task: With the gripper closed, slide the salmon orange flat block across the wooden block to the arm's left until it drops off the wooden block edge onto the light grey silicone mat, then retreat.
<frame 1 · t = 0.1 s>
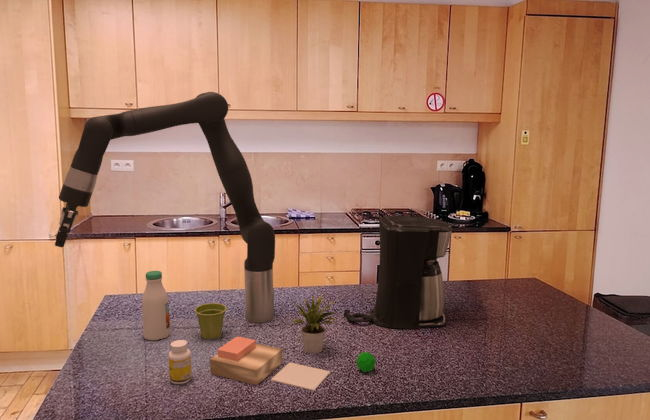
hand: (59, 243, 137), 31 cm above the counter, tool tilted 20°, fingers open, 8 cm apart
wooden block: (247, 368, 133), on the counter
house plant: (310, 351, 143), on the counter
salmon orange flat block: (237, 351, 133), point 4 cm above the counter, touching wooden block
polyhedron: (365, 371, 132), on the counter
milk bottle: (157, 336, 153), on the counter
plant pot: (211, 336, 153), on the counter
coffee maker: (397, 315, 170), on the counter
mat: (301, 376, 129), on the counter
supplement bottle: (180, 380, 127), on the counter
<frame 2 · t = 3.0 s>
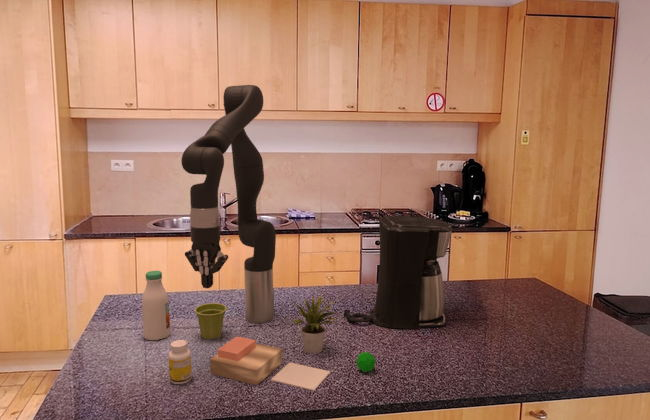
hand: (207, 287, 134), 21 cm above the counter, tool pointing down, fingers closed
nothing on the counter moved.
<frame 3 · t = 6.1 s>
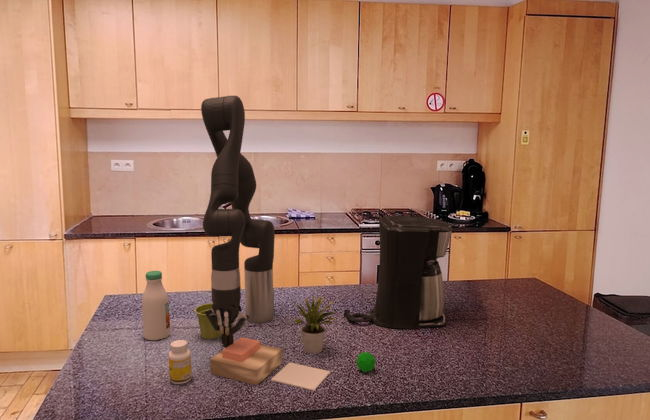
hand: (227, 346, 134), 5 cm above the counter, tool pointing down, fingers closed
salmon orange flat block: (241, 352, 133), point 4 cm above the counter, touching wooden block, gripper
everything else where it was.
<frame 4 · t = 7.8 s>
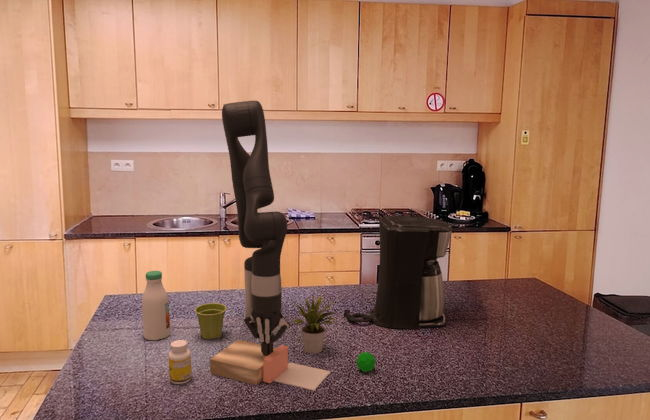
hand: (267, 354, 129), 5 cm above the counter, tool pointing down, fingers closed
salmon orange flat block: (272, 362, 129), point 3 cm above the counter, tilted 91°, touching mat
everything else where it was.
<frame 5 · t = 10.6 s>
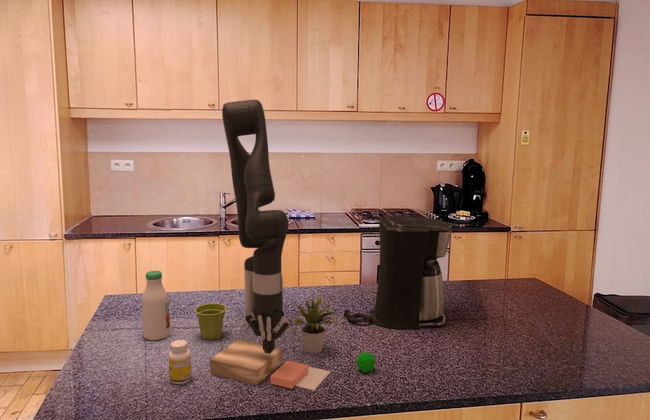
hand: (268, 352, 130), 6 cm above the counter, tool pointing down, fingers closed
salmon orange flat block: (289, 370, 127), point 2 cm above the counter, tilted 180°, touching mat
everything else where it was.
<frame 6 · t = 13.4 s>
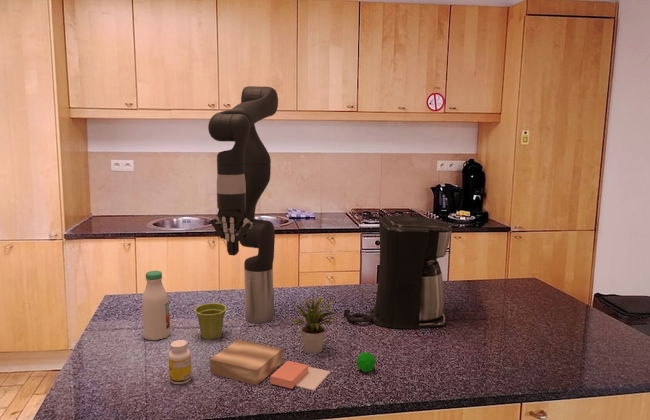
hand: (232, 254, 135), 29 cm above the counter, tool pointing down, fingers closed
nothing on the counter moved.
at the end: salmon orange flat block point 2.3 cm above the counter; salmon orange flat block inside the target area (3.4 cm from its centre), point 2.3 cm above the counter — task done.
